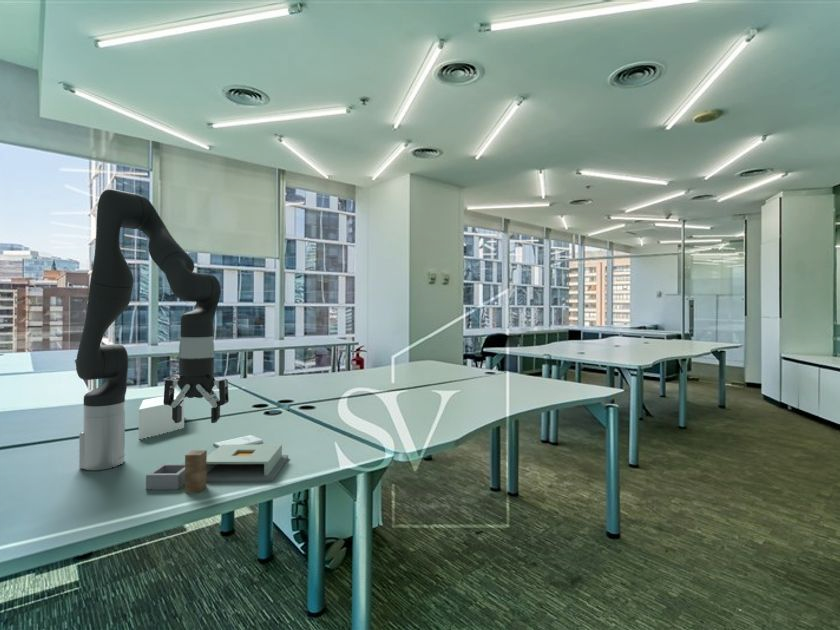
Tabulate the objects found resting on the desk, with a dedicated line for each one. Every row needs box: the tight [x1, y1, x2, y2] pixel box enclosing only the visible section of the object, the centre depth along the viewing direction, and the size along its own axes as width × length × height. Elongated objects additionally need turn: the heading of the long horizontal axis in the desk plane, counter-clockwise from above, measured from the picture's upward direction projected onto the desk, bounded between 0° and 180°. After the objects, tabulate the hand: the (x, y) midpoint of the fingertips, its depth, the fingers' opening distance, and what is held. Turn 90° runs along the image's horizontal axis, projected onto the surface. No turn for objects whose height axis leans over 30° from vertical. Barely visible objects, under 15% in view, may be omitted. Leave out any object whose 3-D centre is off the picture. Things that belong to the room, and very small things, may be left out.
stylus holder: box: [145, 463, 185, 490], centre depth 108 cm, size 8×8×4 cm
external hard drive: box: [212, 434, 264, 449], centre depth 139 cm, size 2×8×12 cm
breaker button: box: [234, 452, 253, 456], centre depth 118 cm, size 6×6×1 cm
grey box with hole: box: [206, 443, 289, 483], centre depth 118 cm, size 20×17×5 cm
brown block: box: [184, 449, 208, 494], centre depth 104 cm, size 4×4×9 cm
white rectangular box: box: [138, 392, 185, 440], centre depth 156 cm, size 14×29×10 cm, turn 2°
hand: (196, 422), depth 104 cm, fingers open, 8 cm apart
